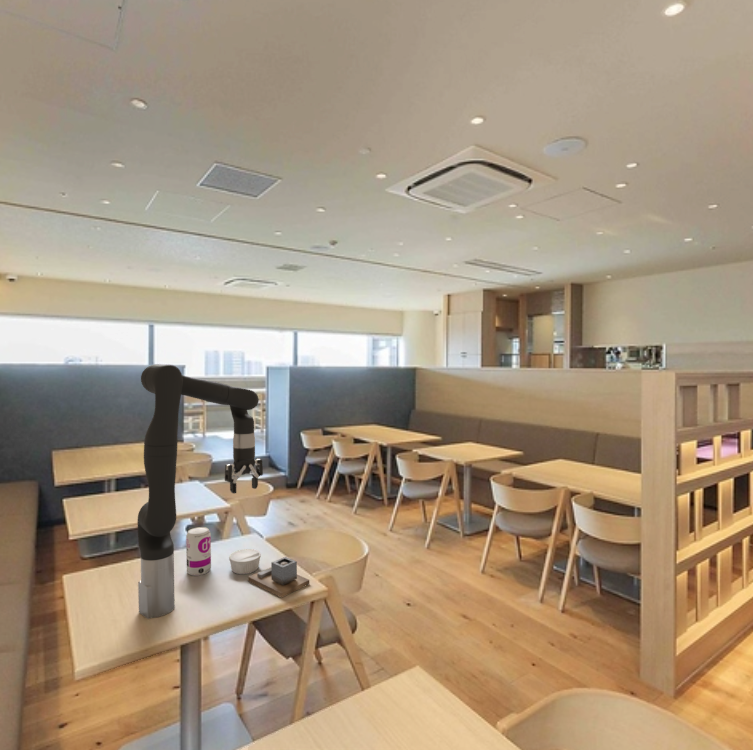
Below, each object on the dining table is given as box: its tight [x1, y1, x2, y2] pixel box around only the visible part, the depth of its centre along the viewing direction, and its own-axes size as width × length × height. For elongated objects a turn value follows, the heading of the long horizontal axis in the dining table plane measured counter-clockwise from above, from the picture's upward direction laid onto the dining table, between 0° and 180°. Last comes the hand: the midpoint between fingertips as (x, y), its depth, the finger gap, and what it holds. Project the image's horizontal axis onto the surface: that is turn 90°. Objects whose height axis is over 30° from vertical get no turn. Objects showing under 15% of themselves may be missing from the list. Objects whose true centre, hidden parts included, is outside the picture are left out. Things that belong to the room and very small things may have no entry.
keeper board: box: [247, 562, 310, 599], centre depth 164 cm, size 12×18×8 cm, turn 50°
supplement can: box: [185, 526, 212, 577], centre depth 172 cm, size 8×8×15 cm
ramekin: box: [228, 548, 261, 575], centre depth 175 cm, size 11×11×5 cm
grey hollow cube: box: [270, 556, 298, 585], centre depth 162 cm, size 6×6×6 cm
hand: (244, 490), depth 171 cm, fingers open, 8 cm apart
